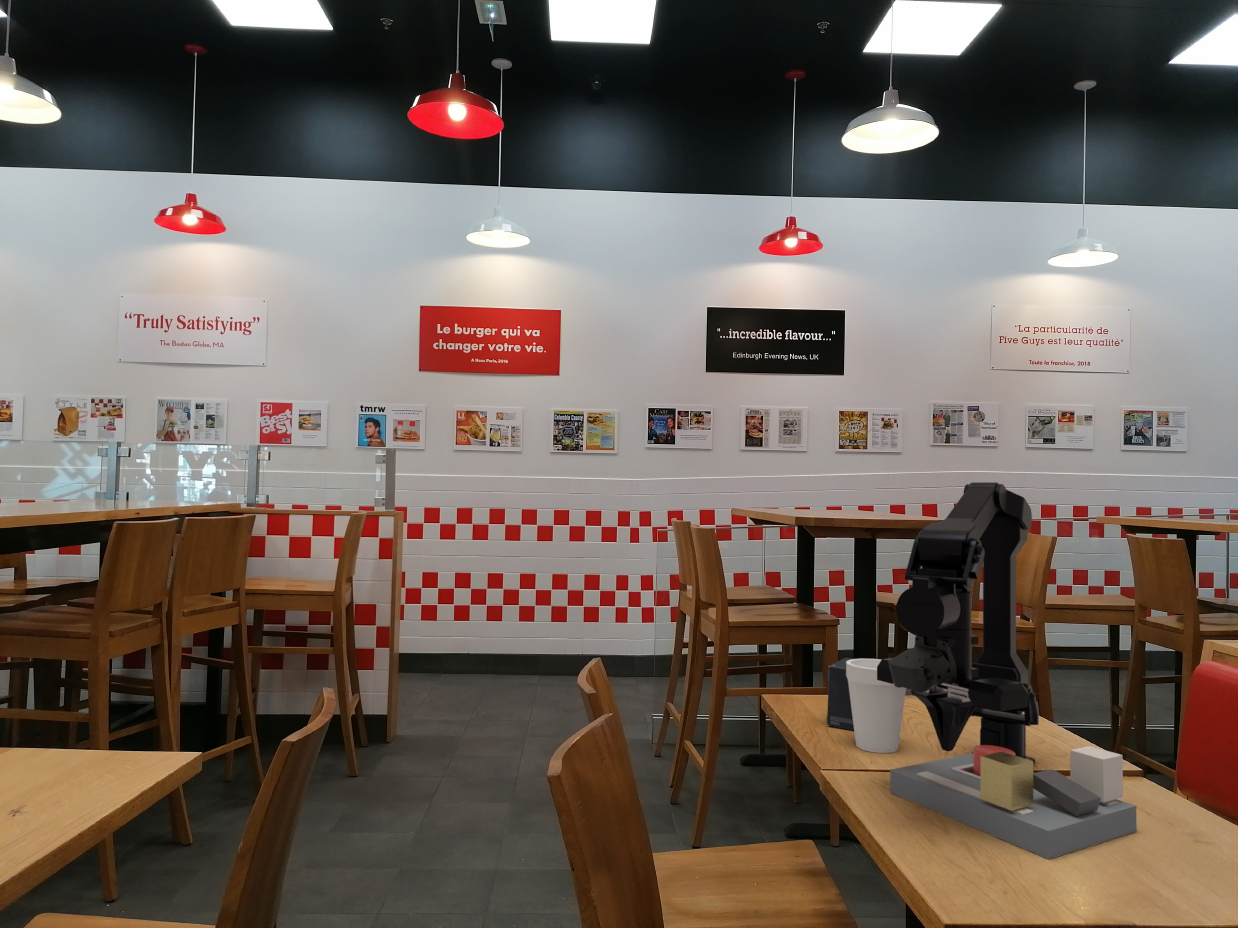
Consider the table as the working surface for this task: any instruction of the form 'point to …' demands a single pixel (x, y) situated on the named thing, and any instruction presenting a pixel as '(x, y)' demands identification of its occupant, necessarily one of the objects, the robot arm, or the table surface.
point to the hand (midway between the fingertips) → (947, 750)
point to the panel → (1029, 827)
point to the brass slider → (1007, 780)
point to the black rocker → (1065, 792)
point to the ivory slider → (1098, 772)
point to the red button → (985, 750)
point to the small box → (839, 696)
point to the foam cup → (874, 707)
